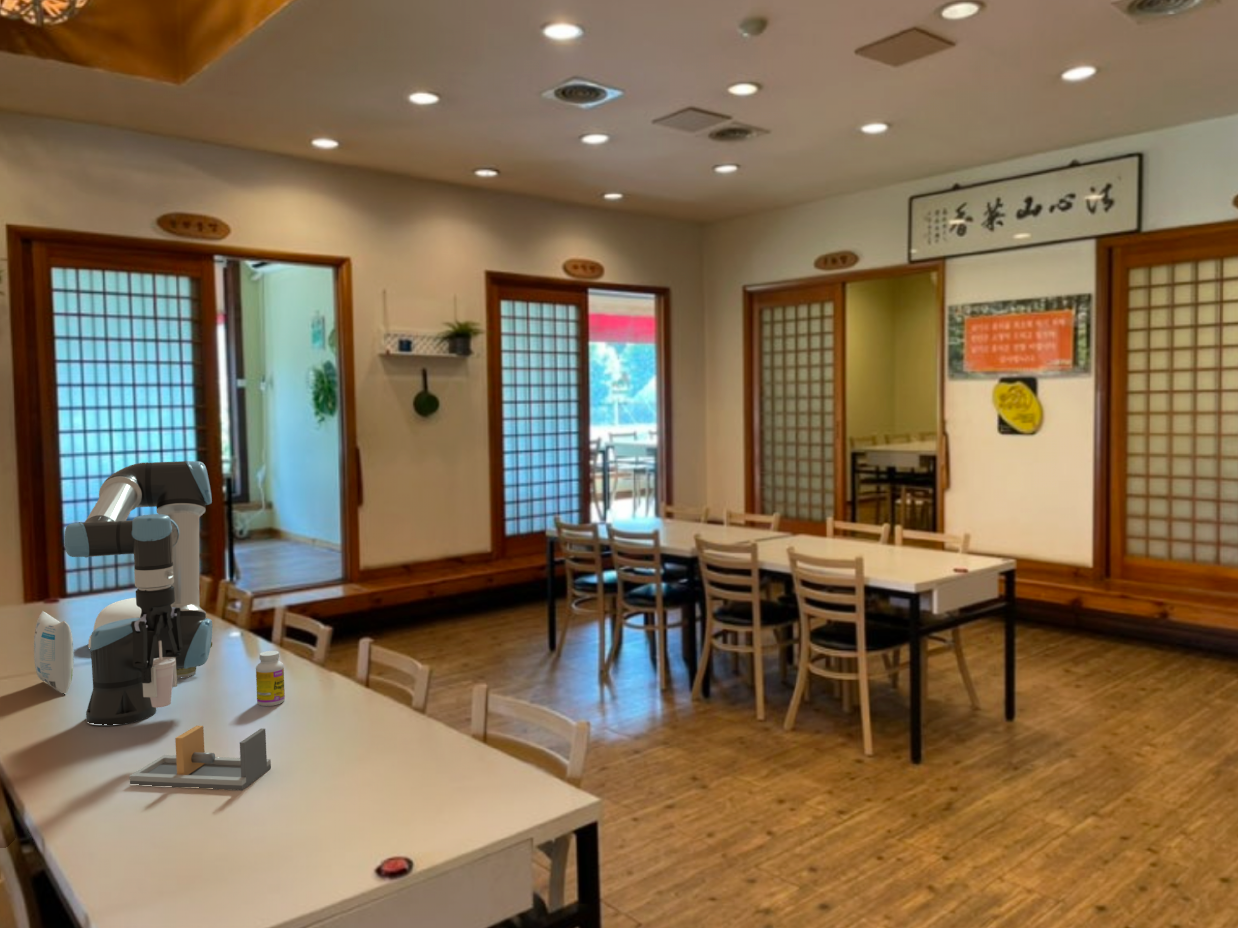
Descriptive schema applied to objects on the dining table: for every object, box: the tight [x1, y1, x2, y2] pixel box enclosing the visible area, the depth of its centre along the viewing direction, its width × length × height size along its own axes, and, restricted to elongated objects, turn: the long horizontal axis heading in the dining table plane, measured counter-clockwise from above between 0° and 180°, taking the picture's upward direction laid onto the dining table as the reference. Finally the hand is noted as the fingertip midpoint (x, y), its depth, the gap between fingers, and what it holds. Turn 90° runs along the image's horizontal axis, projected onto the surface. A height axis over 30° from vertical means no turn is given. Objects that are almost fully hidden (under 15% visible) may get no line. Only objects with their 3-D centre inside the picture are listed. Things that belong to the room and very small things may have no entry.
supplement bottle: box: [255, 650, 286, 707], centre depth 234 cm, size 7×7×13 cm
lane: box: [129, 728, 272, 791], centre depth 187 cm, size 24×11×9 cm, turn 82°
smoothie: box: [147, 641, 175, 709], centre depth 200 cm, size 6×6×14 cm
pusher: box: [174, 725, 216, 775], centre depth 187 cm, size 6×7×8 cm
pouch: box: [33, 610, 75, 694], centre depth 250 cm, size 8×19×20 cm, turn 43°
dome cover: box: [87, 597, 141, 649], centre depth 300 cm, size 32×30×14 cm
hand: (160, 691), depth 200 cm, fingers closed on smoothie, 6 cm apart
